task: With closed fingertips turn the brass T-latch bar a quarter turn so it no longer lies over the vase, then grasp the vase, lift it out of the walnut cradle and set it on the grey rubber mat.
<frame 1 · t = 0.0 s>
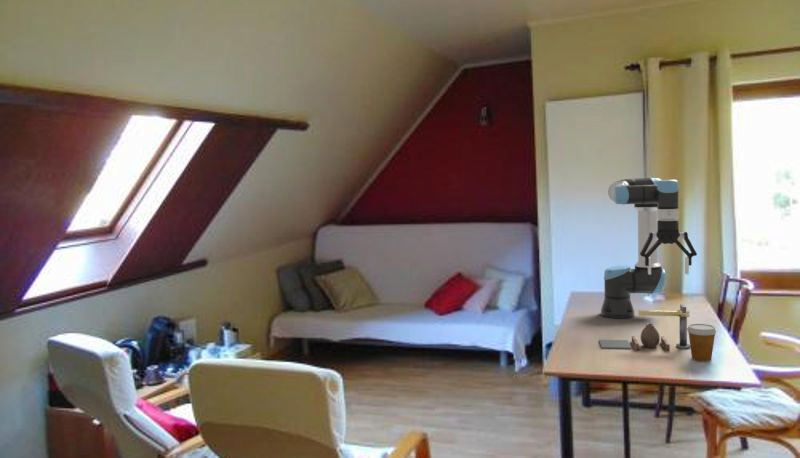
hand: (668, 274, 238), 28 cm above the table, fingers open, 13 cm apart
vase: (650, 347, 239), on the table
cradle: (650, 346, 239), on the table
latch: (663, 310, 236), point 14 cm above the table, hinge at 0.0°
mat: (614, 344, 243), on the table
post: (683, 347, 236), on the table
disposable coffee cup: (701, 359, 221), on the table
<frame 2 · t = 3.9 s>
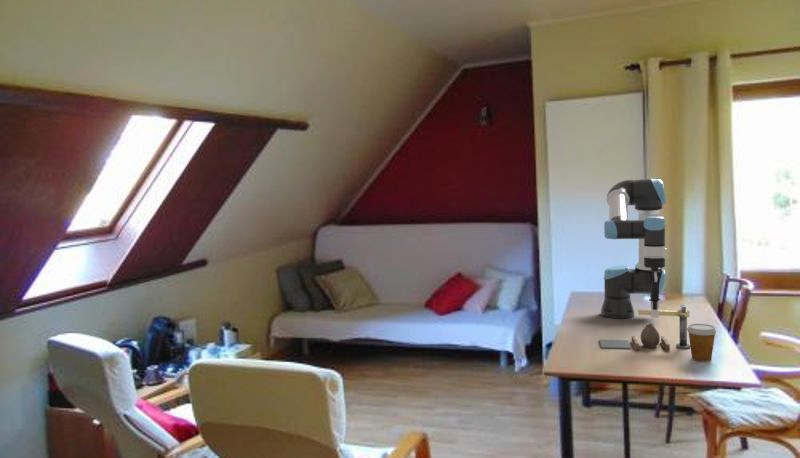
hand: (654, 317, 236), 12 cm above the table, fingers closed
latch: (663, 310, 237), point 14 cm above the table, hinge at 4.7°, touching gripper
everything else where it was.
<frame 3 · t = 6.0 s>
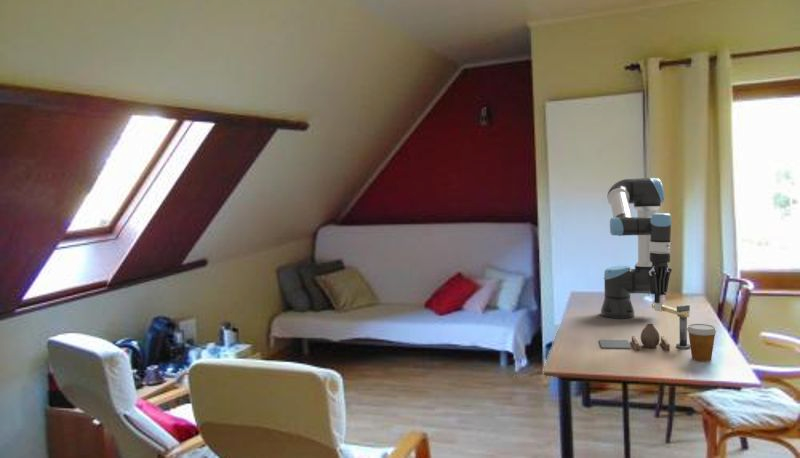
hand: (658, 310, 245), 12 cm above the table, fingers closed
latch: (670, 307, 241), point 14 cm above the table, hinge at 59.6°, touching gripper
everything else where it was.
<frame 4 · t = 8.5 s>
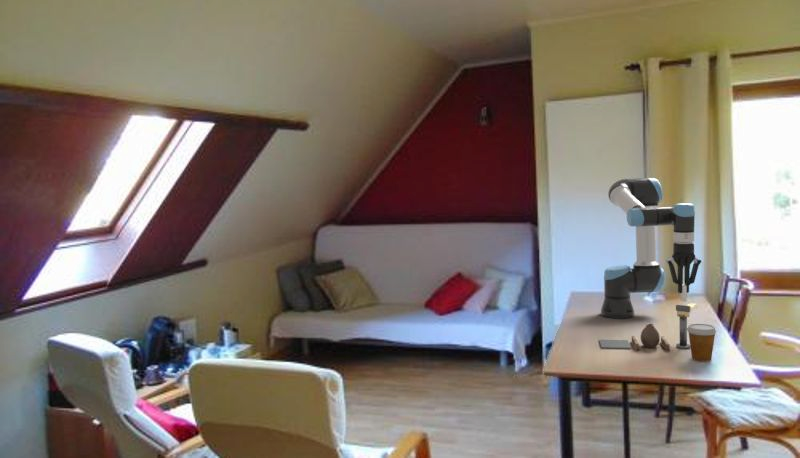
hand: (683, 300, 245), 16 cm above the table, fingers closed
latch: (687, 307, 240), point 14 cm above the table, hinge at 115.4°
everything else where it was.
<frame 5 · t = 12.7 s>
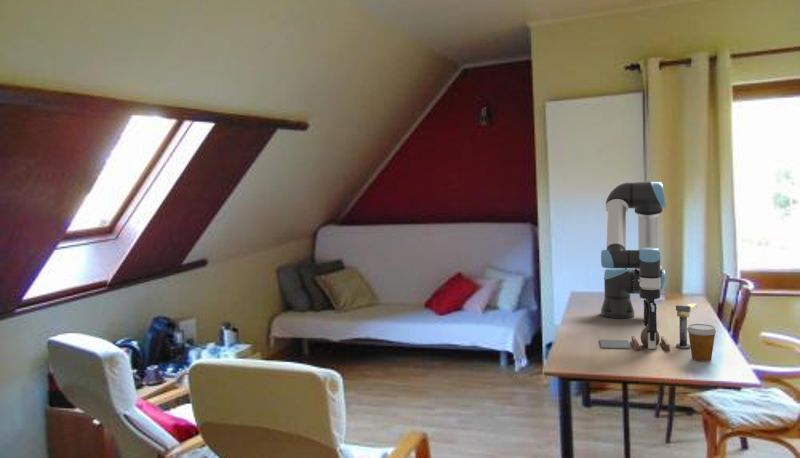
hand: (650, 345, 239), 0 cm above the table, fingers closed on vase, 7 cm apart
vase: (650, 347, 239), on the table, touching gripper
everything else where it was.
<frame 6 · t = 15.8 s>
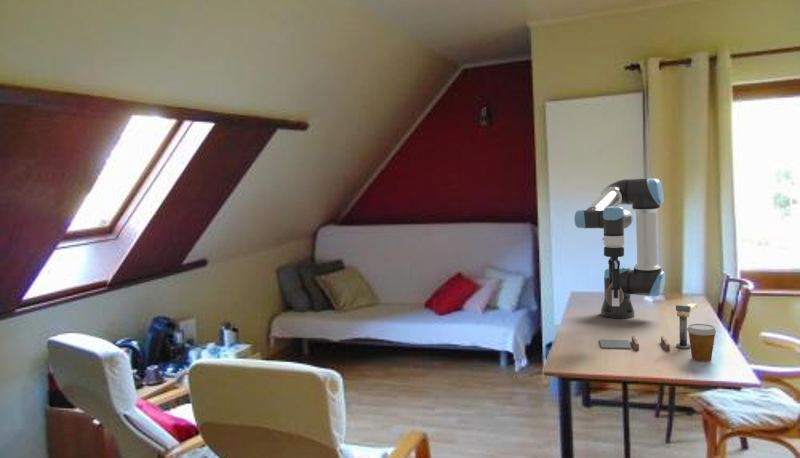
hand: (614, 303, 241), 17 cm above the table, fingers closed on vase, 7 cm apart
vase: (614, 305, 241), point 16 cm above the table, touching gripper
everything else where it was.
when the fingers open (2 cm above the table, at t = 18.8 s): vase drops 1 cm, resting on mat.
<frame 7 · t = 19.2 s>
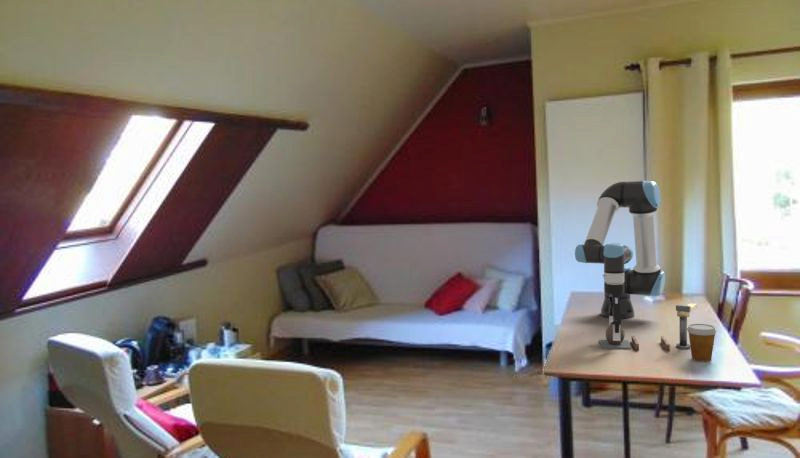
hand: (614, 336, 242), 4 cm above the table, fingers open, 13 cm apart
vase: (614, 343, 243), resting on mat
everything else where it was.
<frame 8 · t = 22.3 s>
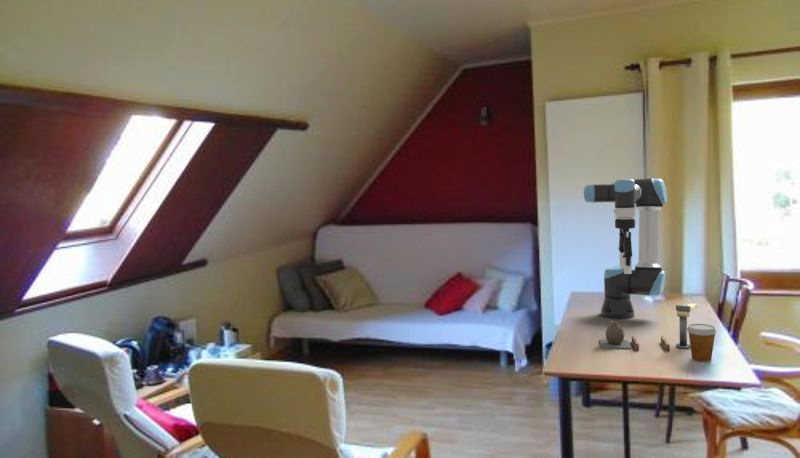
hand: (625, 271, 245), 29 cm above the table, fingers open, 13 cm apart
nothing on the table moved.
at the end: latch at +115° (first picture: +0°); vase inside the target area on the mat (0.1 cm from its centre), point 0.4 cm above the mat's base; vase tilted 0° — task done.
